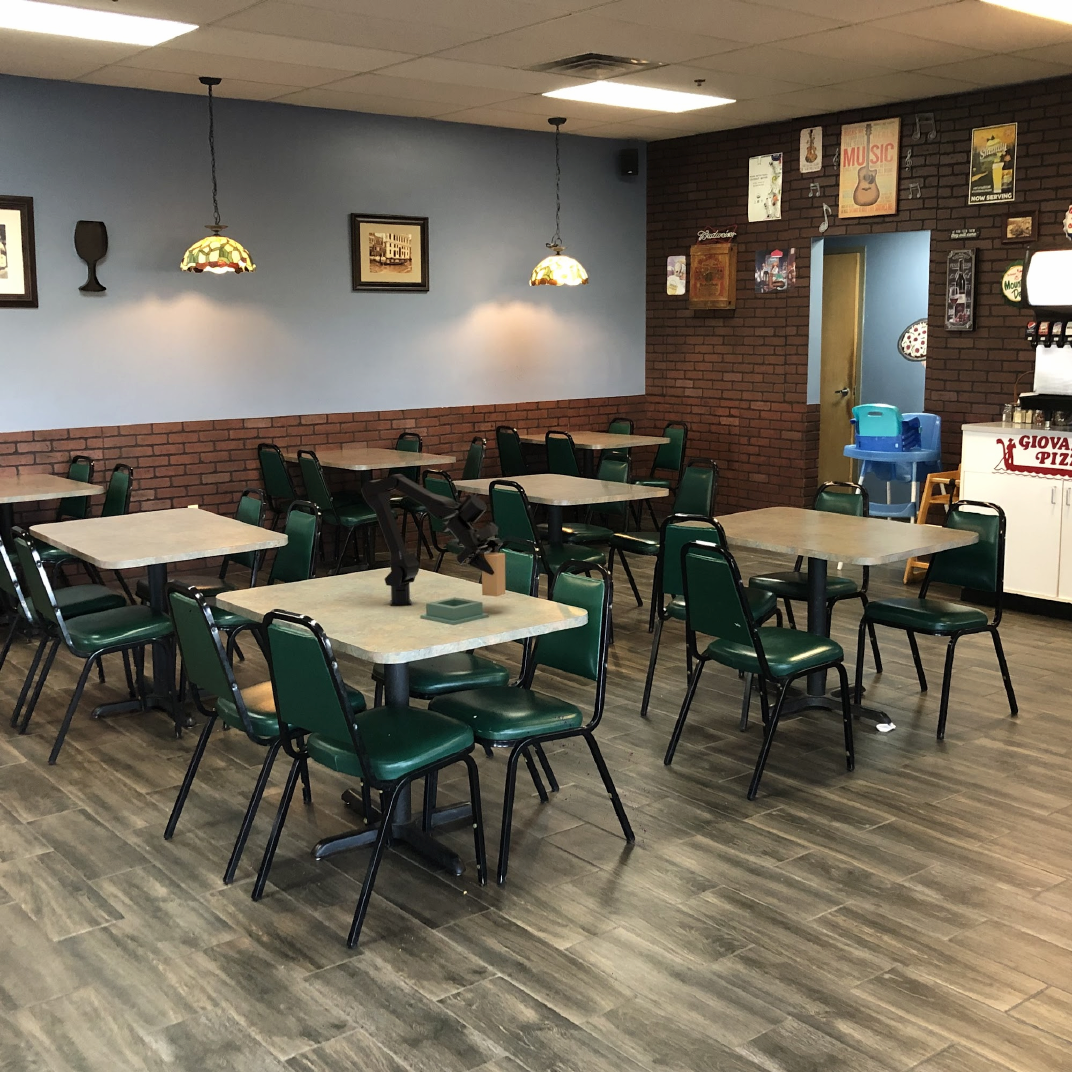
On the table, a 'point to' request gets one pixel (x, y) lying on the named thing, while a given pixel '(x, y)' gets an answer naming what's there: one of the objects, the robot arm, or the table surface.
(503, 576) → the plug
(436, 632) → the table surface
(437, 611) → the socket housing
